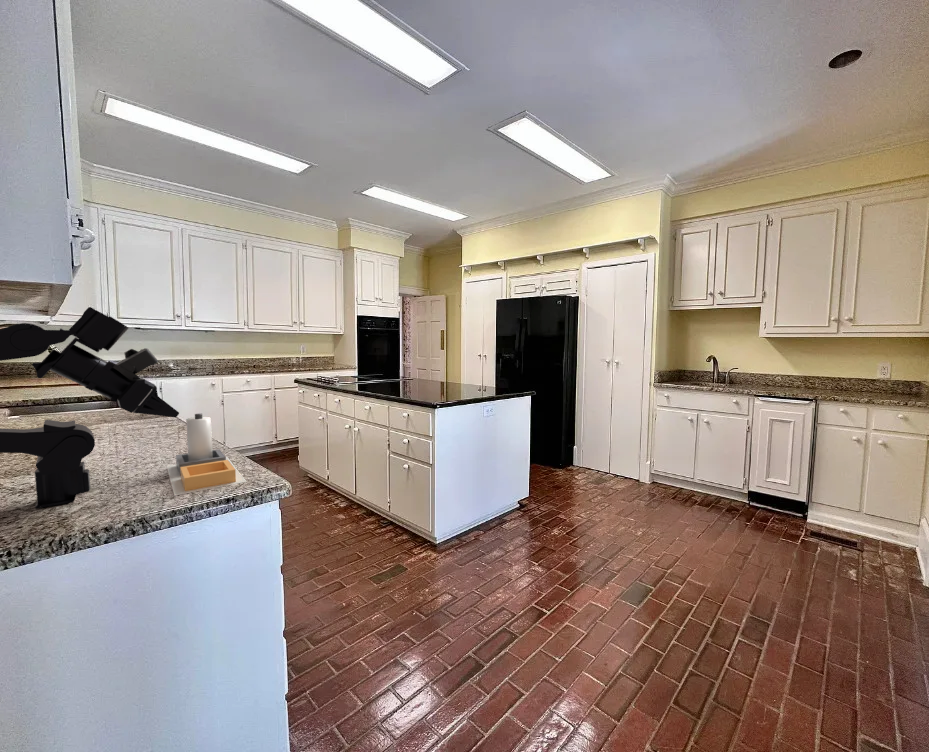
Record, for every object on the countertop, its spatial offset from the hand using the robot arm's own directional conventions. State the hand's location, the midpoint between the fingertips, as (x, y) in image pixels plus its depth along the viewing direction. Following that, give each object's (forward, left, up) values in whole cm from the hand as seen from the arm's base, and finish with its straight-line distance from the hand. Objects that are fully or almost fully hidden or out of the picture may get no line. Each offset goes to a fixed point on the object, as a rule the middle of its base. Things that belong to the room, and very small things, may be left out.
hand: (172, 412), depth 87 cm
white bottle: (+5, +1, -13) cm, 14 cm away
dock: (+5, -4, -14) cm, 15 cm away
